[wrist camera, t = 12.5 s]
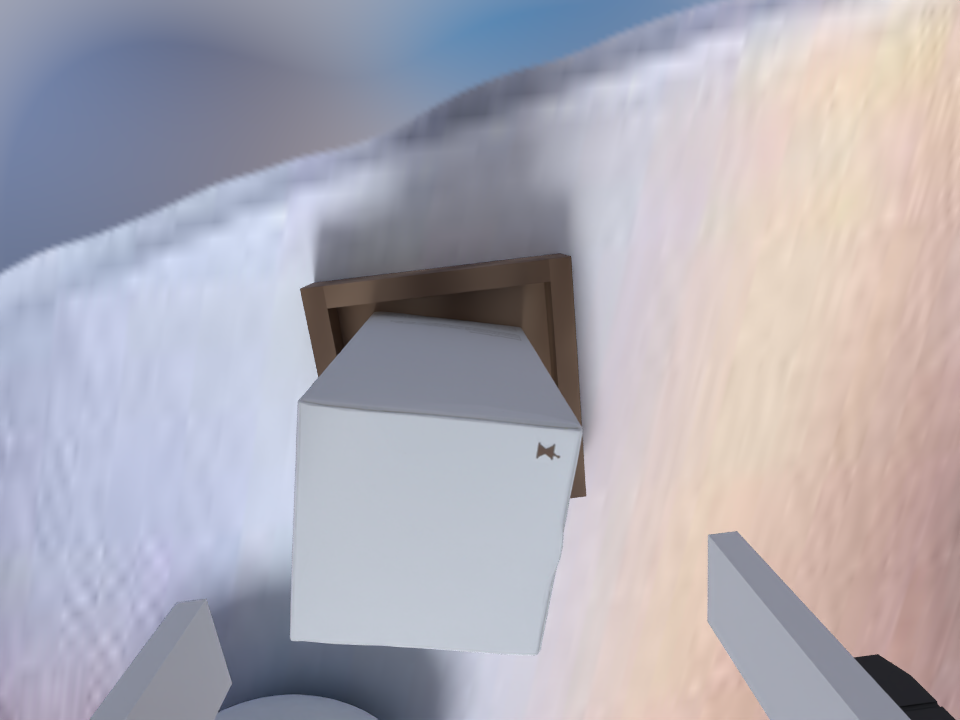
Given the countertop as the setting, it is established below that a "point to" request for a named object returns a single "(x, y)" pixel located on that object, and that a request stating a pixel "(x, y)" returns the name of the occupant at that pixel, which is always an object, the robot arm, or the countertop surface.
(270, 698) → the serving bowl
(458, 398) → the supplement box
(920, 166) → the countertop surface
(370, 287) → the brown wooden tray
